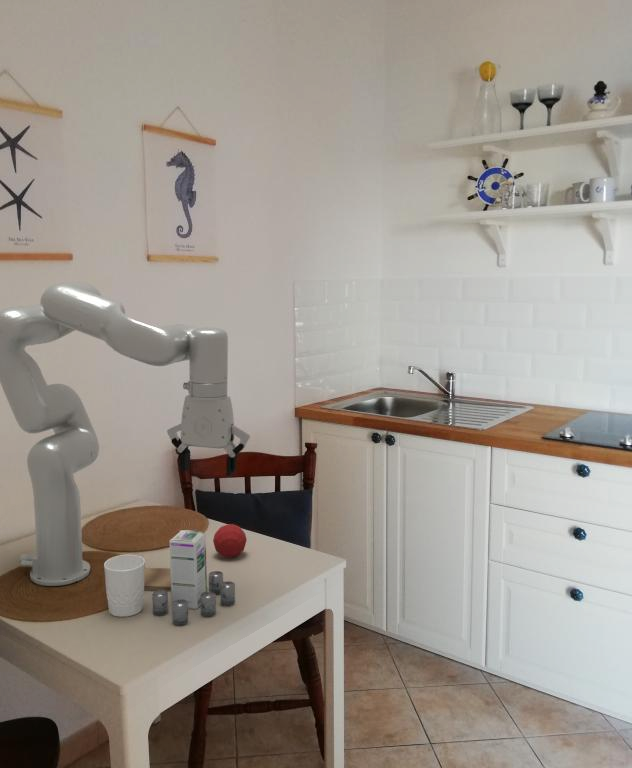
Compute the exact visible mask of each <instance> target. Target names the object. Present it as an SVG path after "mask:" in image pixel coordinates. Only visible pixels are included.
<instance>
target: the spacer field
mask: <svg viewBox="0 0 632 768" xmlns="http://www.w3.org/2000/svg"><path fill="white" fill-rule="evenodd" d="M168 592H169V591H165V590H158V591H153V592H152V594H151V595H152V614H153V616H156V617H157V616H158V617H161V616H162V617H163V616H166V615H167V614H168V613H169V593H168ZM218 595H219V596H220V597H219V599H220V602H219V603H220V606H223V607H231V605H232V606H234V605H235V604H234V603H236V583H235V582H234V581H231V580H230V581H224V573H223V572H222V571H220V570H215V571H211V572H209V573H208V591H207V592H203V593H202V594H201V595H200V602H201V605H200V616H201V617H203V618H212V617H214V616H216V614H217V612H216V611H217V605H216V604H217V601H216V600H217V599H216V598H217V597H216V596H218ZM171 606H172V607H171V609H172V612H171V613H172V616H171V617H172V618H171V619H172V625H174V626H176V627H183V626H186V625H187V624H188V623H189V608H188V601H186V600H183V599H180V600H175V601H174V602H173V603H172V602H171ZM211 616H212V617H211Z"/></svg>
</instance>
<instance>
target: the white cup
mask: <svg viewBox="0 0 632 768" xmlns="http://www.w3.org/2000/svg"><path fill="white" fill-rule="evenodd" d="M145 566H146V559H145V558H144V557H143V556H140V555H137V554H121V555H115V556H112V557H110V558H108V559H107V560H105V562H104V563H103V567H104V580H105V592H106V599H107V605H108V613H109V614H111V615H112V616H114V617H119V618H123V617H126V618H127V617H130V616H131V617H132V616H135V615H137V614H138V613H141V612H142V610H143V608H144V595H145V590H144V582H145V568H146V567H145Z"/></svg>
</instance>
